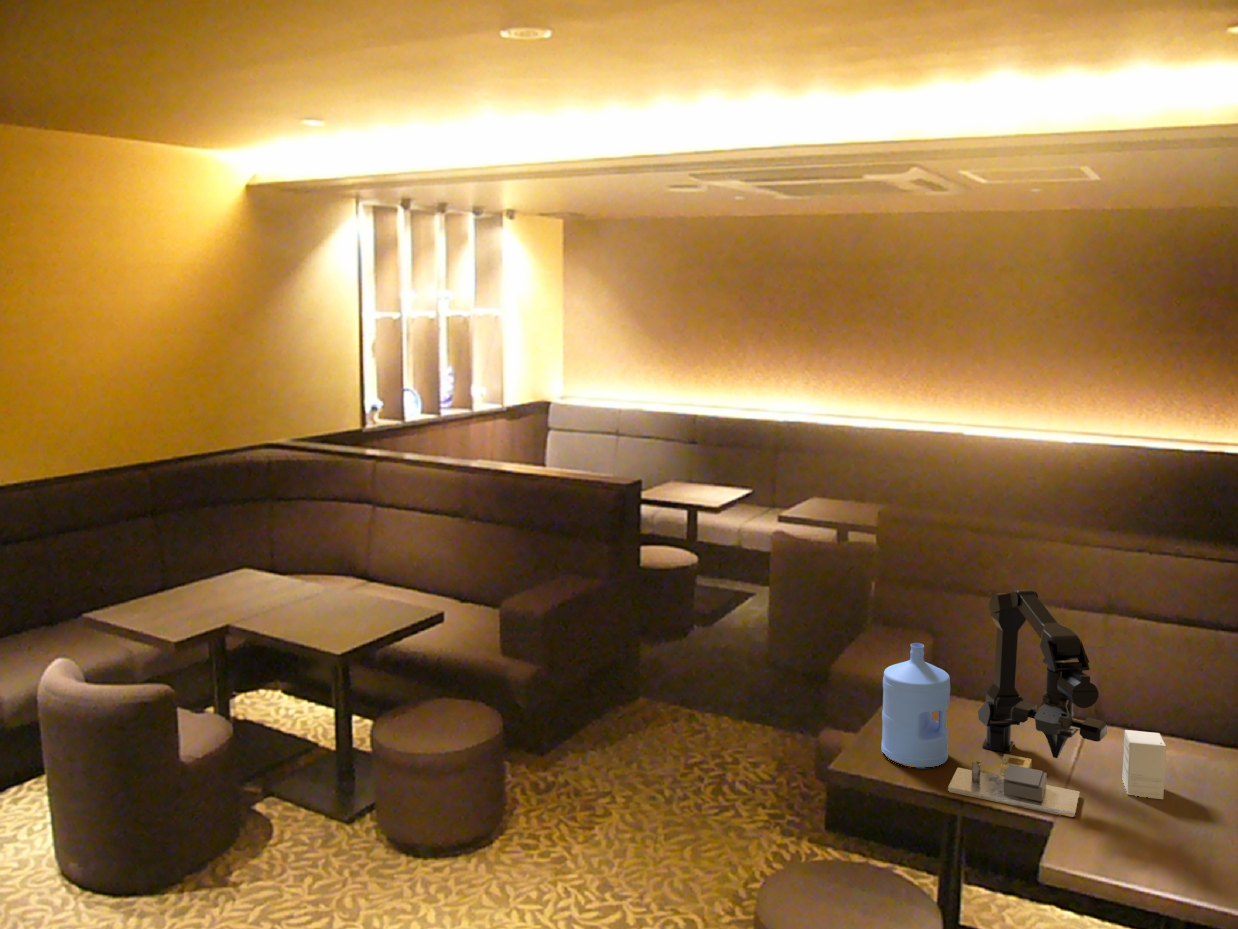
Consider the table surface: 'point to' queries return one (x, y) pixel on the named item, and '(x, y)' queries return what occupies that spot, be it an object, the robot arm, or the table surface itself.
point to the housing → (1025, 782)
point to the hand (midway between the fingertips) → (1055, 757)
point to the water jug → (915, 711)
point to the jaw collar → (1013, 763)
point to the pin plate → (993, 790)
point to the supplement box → (1144, 764)
